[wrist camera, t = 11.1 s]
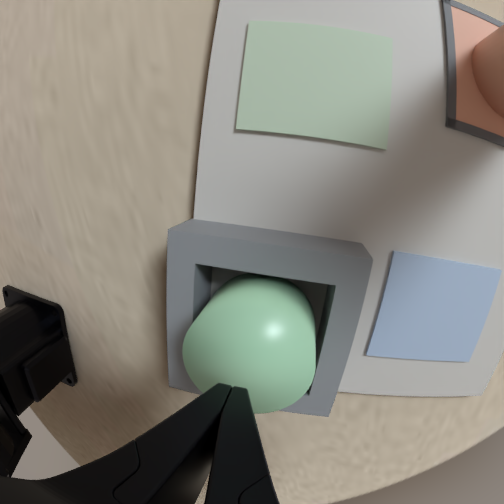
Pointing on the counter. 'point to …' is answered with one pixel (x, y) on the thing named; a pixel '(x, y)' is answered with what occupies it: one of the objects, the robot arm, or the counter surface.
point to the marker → (490, 69)
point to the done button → (254, 341)
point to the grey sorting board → (353, 191)
